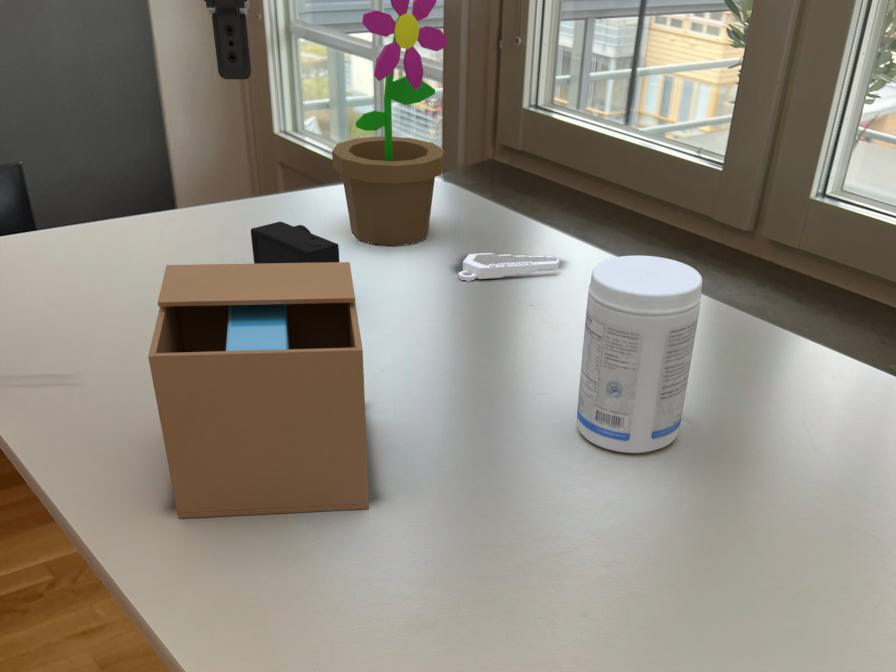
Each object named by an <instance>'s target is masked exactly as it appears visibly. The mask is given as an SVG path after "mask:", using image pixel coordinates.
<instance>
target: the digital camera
mask: <svg viewBox="0 0 896 672" xmlns="http://www.w3.org/2000/svg"><path fill="white" fill-rule="evenodd" d="M250 237H251V245H252V246H251V247H252V256H253V257H252V258H253V264H263V263H326V262H340V248H339V243H336V242H334V241H331V240H329V239H327V238H324V237H321V236H320V235H319V236H318V235H316V234H314V233H312V232H311V231H310V229H309V228H308V227H306V226H305V225H302V224H298V225H294V226H293V225H291V224H288V223H286V222H283V221H280V220H279V221H277V222H272V223H268V224H265V225H261V226H256V227H252V228H250Z"/></svg>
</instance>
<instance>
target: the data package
mask: <svg viewBox="0 0 896 672" xmlns="http://www.w3.org/2000/svg"><path fill="white" fill-rule="evenodd" d="M288 349H290V341H289V330H288V318H287V307H286V304H267V305H229V316H228V329H227V342H226V351H252V350H288Z"/></svg>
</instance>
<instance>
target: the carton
mask: <svg viewBox="0 0 896 672" xmlns="http://www.w3.org/2000/svg"><path fill="white" fill-rule="evenodd" d="M286 307H287V318H288V330H289V341H290V349H288V350H252V351H226V342H227V329H228V316H229V305H221V306H174V307H159V310H158V314H157V318H156V322H155V327H154V331H153V335H152V338H151V342H150V347H149V351H148V355H147V357H148V363H149V370H150V375H151V379H152V384H153V385H152V386H153V390H154V395H155V400H156V401H155V402H156V406H157V411H158V416H159V421H160V422H159V423H160V428H161V433H162V438H163V444H164V449H165V454H166V460H167V466H168V471H169V476H170V481H171V486H172V491H173V492H172V493H173V498H174V503H175V508H176V513H177V518H178V519H196V518H214V517H215V518H216V517H234V516H236V517H237V516H253V515H254V516H255V515H275V514H294V513H295V514H297V513H312V512H333V511H352V510H354V511H355V510H369V509H370V497H369V495H370V493H369V473H368V472H369V471H368V470H369V469H368V450H367V449H368V447H367V445H368V444H367V422H366V399H365V397H366V396H365V378H364V377H365V373H364V370H365V369H364V353H363V352H364V350H363V343H362V337H361V330H360V329H361V328H360V324H359V317H358V316H359V315H358V310H357V304H356V302H355V303H314V304H286Z"/></svg>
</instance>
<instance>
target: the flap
mask: <svg viewBox="0 0 896 672" xmlns="http://www.w3.org/2000/svg"><path fill="white" fill-rule="evenodd" d="M163 273H164V274H163V278H162V282H161V286H160V291H159V295H158V299H157V306H158V307H159V308H160V307H174V306H221V305H267V304H314V303H356V294H355V289H354V283H353V275H352V269H351V262H349V261H339V262H326V263H263V264H254V263H210V264H209V263H208V264H205V263H201V264H166V266H165V270H164V272H163Z"/></svg>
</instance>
